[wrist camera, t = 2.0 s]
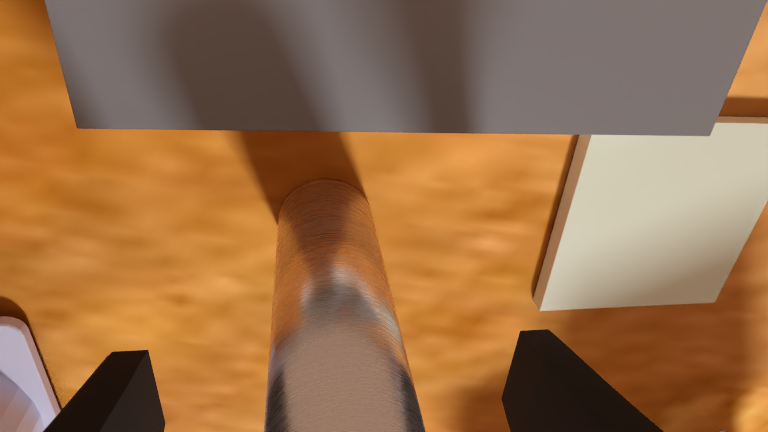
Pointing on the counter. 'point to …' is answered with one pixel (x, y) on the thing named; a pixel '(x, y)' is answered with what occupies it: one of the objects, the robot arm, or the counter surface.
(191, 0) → the box
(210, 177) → the counter surface
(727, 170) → the pad
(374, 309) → the shiny metal cylinder
